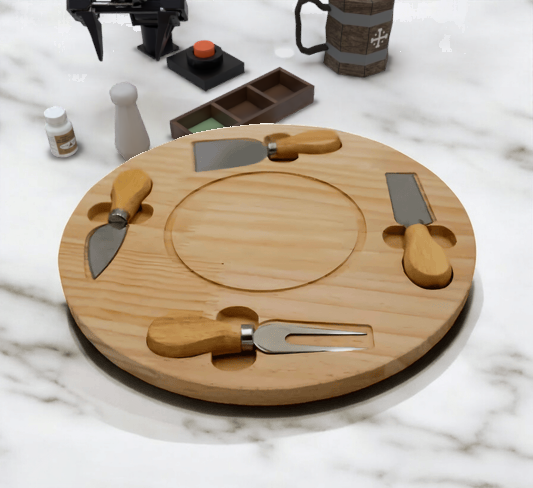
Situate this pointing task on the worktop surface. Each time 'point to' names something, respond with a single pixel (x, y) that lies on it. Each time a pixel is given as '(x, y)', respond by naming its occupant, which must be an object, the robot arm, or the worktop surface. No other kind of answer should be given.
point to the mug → (352, 35)
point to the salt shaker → (128, 121)
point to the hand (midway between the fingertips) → (129, 60)
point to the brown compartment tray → (248, 104)
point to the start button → (204, 49)
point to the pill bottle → (60, 132)
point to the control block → (205, 67)
